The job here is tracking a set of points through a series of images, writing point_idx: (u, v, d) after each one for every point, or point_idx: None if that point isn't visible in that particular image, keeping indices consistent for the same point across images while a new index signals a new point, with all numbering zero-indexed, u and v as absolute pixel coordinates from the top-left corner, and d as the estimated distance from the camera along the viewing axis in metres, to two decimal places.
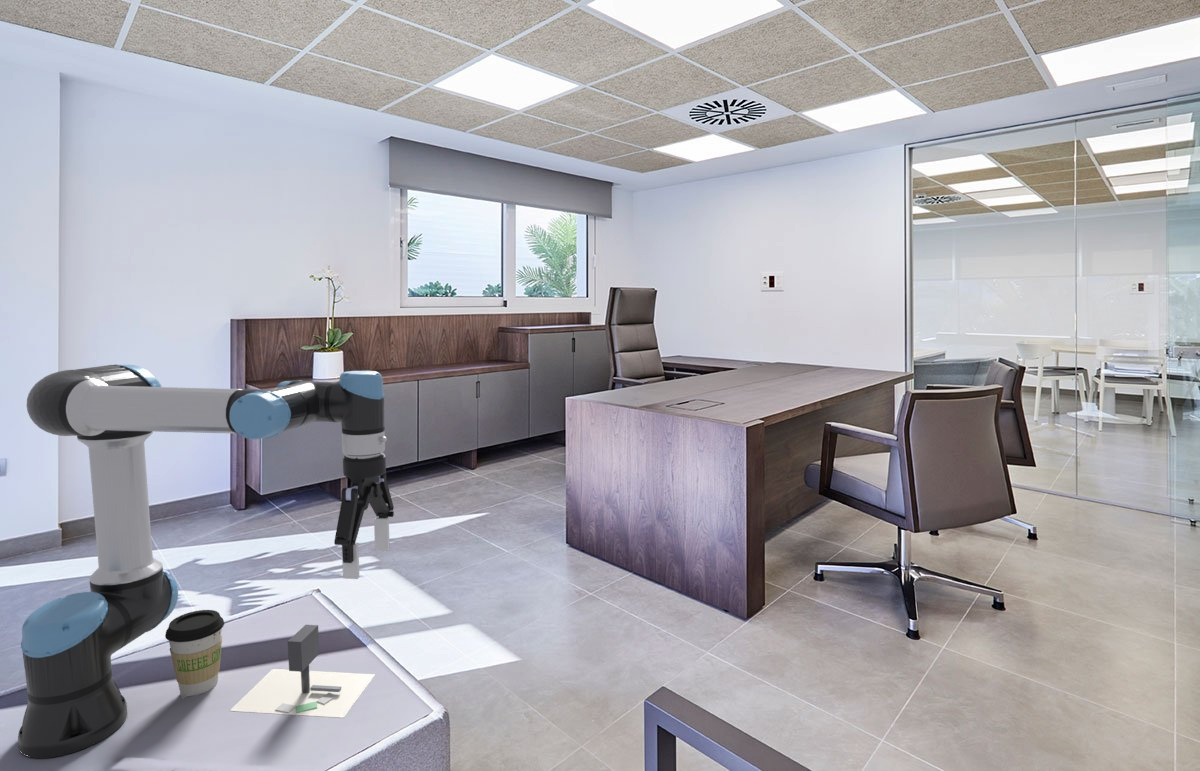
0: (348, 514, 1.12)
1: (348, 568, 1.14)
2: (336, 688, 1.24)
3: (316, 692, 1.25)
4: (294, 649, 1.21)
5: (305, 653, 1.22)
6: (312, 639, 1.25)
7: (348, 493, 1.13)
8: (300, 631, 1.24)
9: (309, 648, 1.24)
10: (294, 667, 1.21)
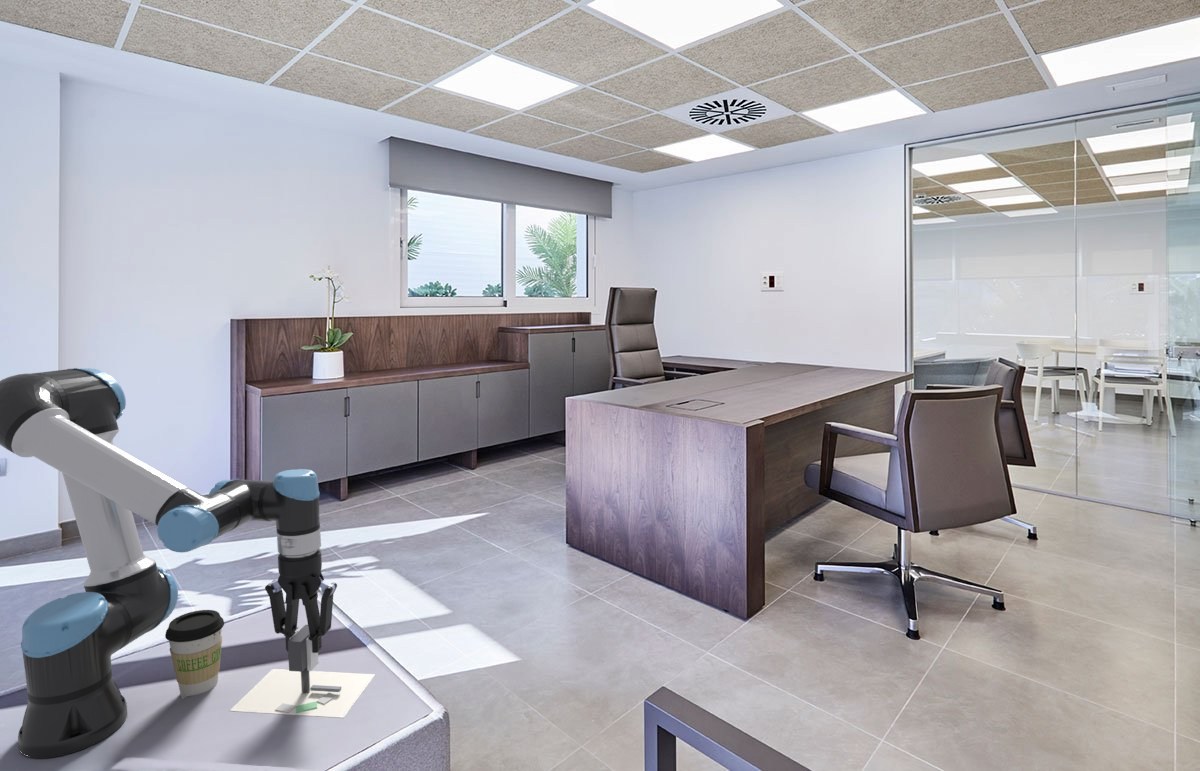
0: None
1: None
2: (336, 688, 1.24)
3: (316, 692, 1.25)
4: (294, 649, 1.21)
5: (305, 653, 1.22)
6: None
7: None
8: (300, 631, 1.24)
9: None
10: (294, 667, 1.21)
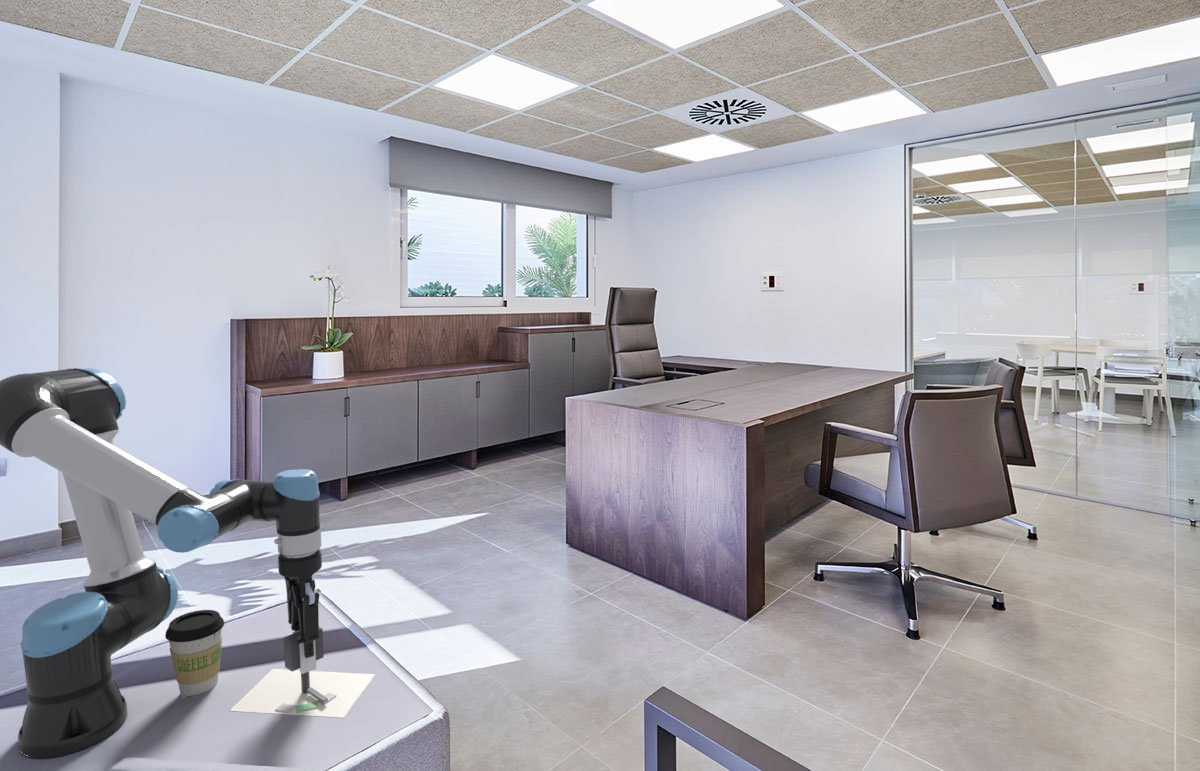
0: None
1: None
2: (322, 698, 1.21)
3: None
4: (287, 647, 1.21)
5: None
6: None
7: None
8: None
9: None
10: (287, 665, 1.22)
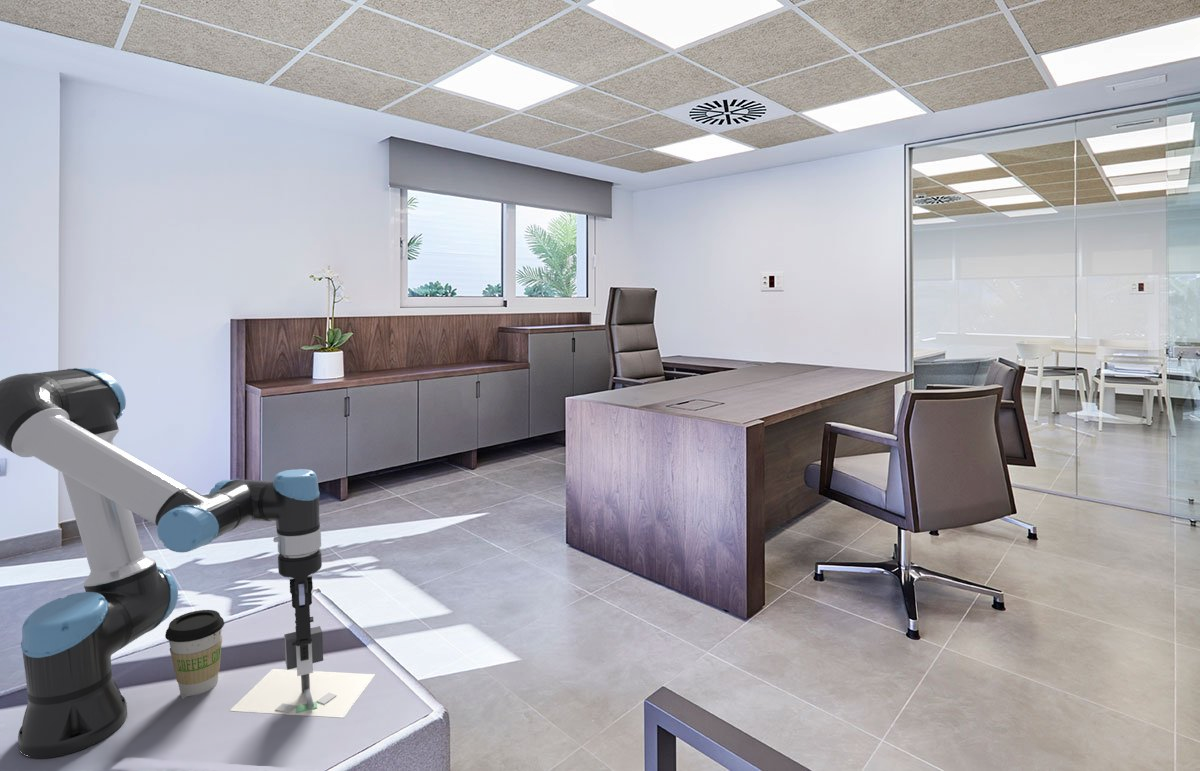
0: None
1: None
2: (309, 703, 1.19)
3: (316, 692, 1.25)
4: (285, 645, 1.22)
5: (295, 654, 1.22)
6: None
7: None
8: None
9: None
10: (286, 662, 1.23)
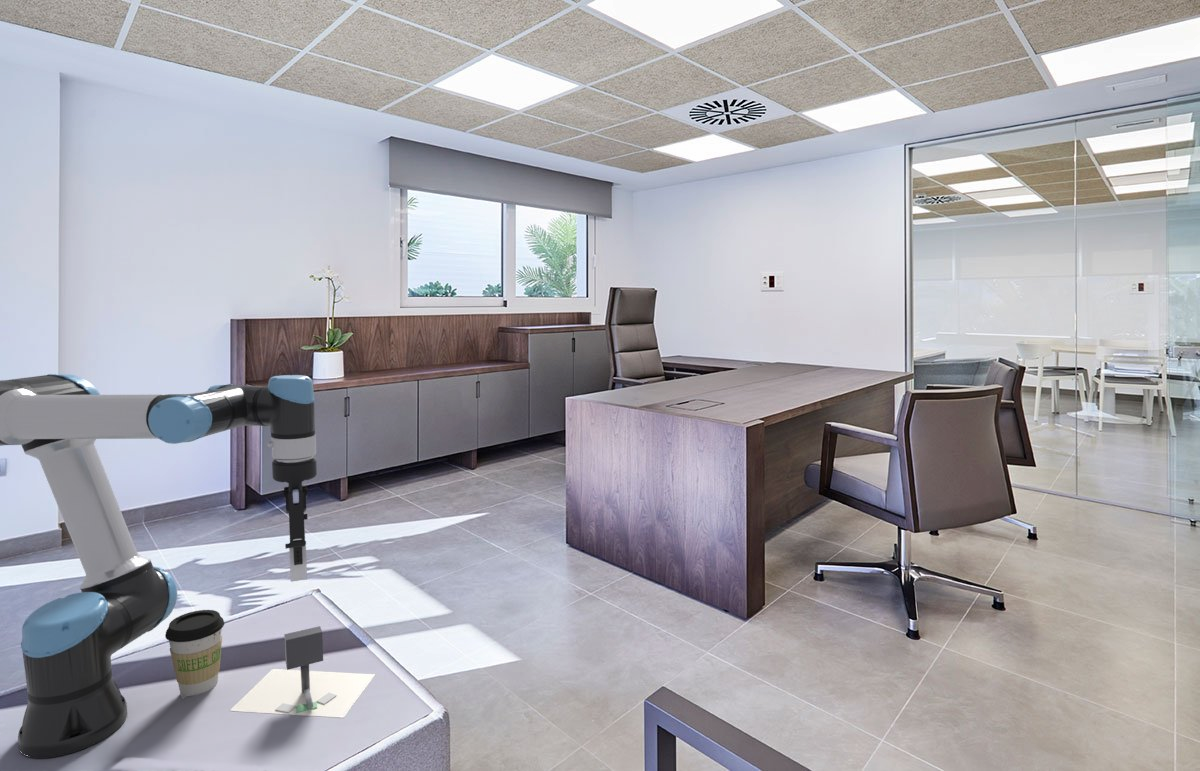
0: None
1: None
2: (308, 703, 1.19)
3: (316, 692, 1.25)
4: (285, 645, 1.22)
5: (295, 653, 1.22)
6: (309, 642, 1.23)
7: None
8: (304, 630, 1.24)
9: (303, 650, 1.23)
10: (286, 662, 1.23)
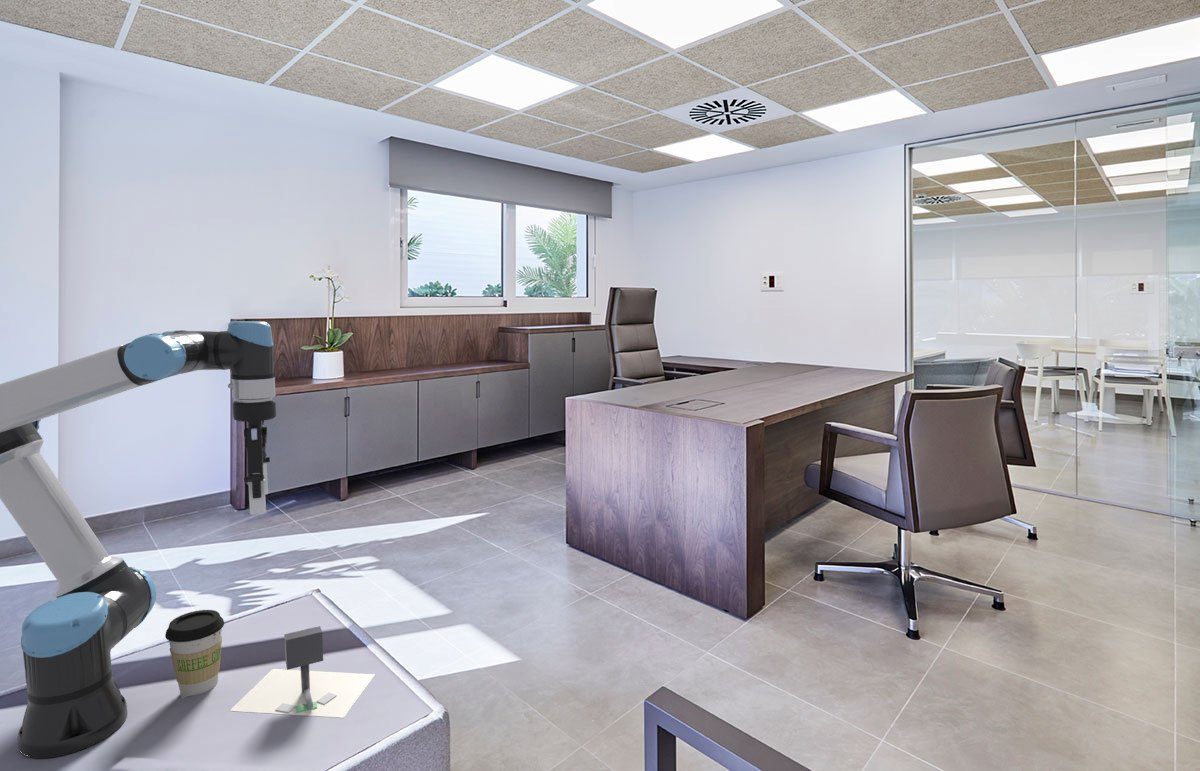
0: None
1: None
2: (308, 703, 1.19)
3: (316, 692, 1.25)
4: (285, 644, 1.22)
5: (295, 653, 1.22)
6: (309, 642, 1.23)
7: None
8: (304, 630, 1.24)
9: (303, 650, 1.23)
10: (286, 662, 1.23)
